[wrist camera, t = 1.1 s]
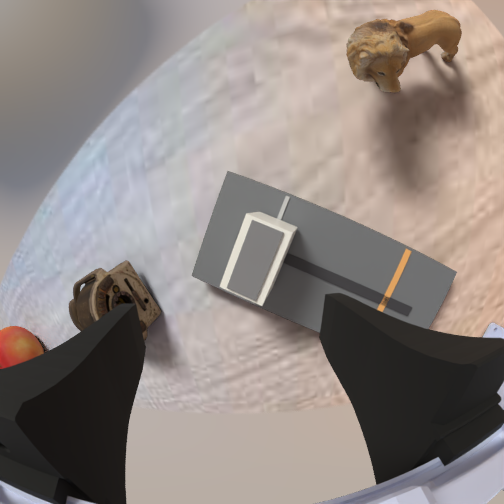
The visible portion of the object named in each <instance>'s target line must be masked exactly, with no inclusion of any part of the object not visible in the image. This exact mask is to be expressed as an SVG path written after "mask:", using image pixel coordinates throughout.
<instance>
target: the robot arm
mask: <svg viewBox="0 0 504 504" xmlns="http://www.w3.org/2000/svg"><path fill="white" fill-rule="evenodd" d="M494 329H495V330H494ZM319 338H320V340H321V343H322V346H323V349H324V352H325V354H326V357H327V359H328V361H329V363H330V364H331V366H332V368H333V370H334V372H335V374H336V375H337V377H338V379H339V381H340V383H341V384H342V386H343V388H344V390H345V392H346V393H347V395H348V397H349V399H350V401H351V403H352V405H353V408H354V410H355V413H356V416H357V418H358V421H359V423H360V426H361V429H362V432H363V435H364V438H365V441H366V444H367V447H368V451H369V455H370V458H371V462H372V466H373V470H374V475H375V479H376V485H375V486H373V487H370V488H367V489H364V490H361V491H358V492H355V493H352V494H349V495H346V496H342V497H338V498H335V499H331V500H328V501H323V502H319V503H315V504H486V503H488V501H490V500H491V499H492V498H493V497H494V496H495V495H496V494H498V493H499V492H500V491H501V490H504V328H503V327H501V326H499V325H497V324H495V323H493V322H492V323H490V324H489V326H488V328H487V330H486V332H485V333H484V335H483V337H468V336H459V335H453V334H447V333H442V332H438V331H433V330H429V329H426V328H422V327H419V326H416V325H413V324H410V323H407V322H405V321H402V320H399V319H397V318H395V317H392V316H390V315H388V314H385V313H383V312H381V311H379V310H377V309H375V308H372V307H370V306H368V305H366V304H364V303H362V302H360V301H358V300H356V299H354V298H352V297H349V296H347V295H345V294H342V293H331V294H325V300H324V308H323V315H322V322H321V329H320V336H319ZM145 349H146V346H145V342H144V338H143V334H142V329H141V325H140V320H139V315H138V310H137V305H136V304H120V305H118V306H116V307H115V308H113V309H112V310H111V311H109V312H108V313H106V314H105V315H104V316H102V317H101V318H100V319H98V320H97V321H96V322H94V323H93V324H91V325H90V326H89V327H87V328H86V329H84V330H83V331H81V332H80V333H78V334H77V335H75V336H74V337H72V338H71V339H69V340H68V341H66V342H64V343H63V344H61V345H59V346H57V347H56V348H54V349H52V350H50V351H48V352H46V353H44V354H41V355H39V356H37V357H34V358H32V359H30V360H27V361H25V362H22V363H19V364H16V365H13V366H10V367H7V368H3V369H0V504H126V490H125V460H126V459H125V458H126V443H127V433H128V424H129V419H130V414H131V410H132V406H133V402H134V399H135V395H136V391H137V388H138V384H139V380H140V377H141V373H142V370H143V364H144V357H145Z"/></svg>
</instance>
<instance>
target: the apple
mask: <svg viewBox="0 0 504 504" xmlns="http://www.w3.org/2000/svg"><path fill="white" fill-rule="evenodd" d="M41 354H44V351H43V347H42V345H41V344H40V342H39V341H38V339H37V338H36V337H35V336H34V335H33V334H32V333H31V332H30V331H28V330H27V329H25V328H22V327H18V326H10V327H6V328H4V329H2V330H0V369H3V368H7V367H10V366H13V365H16V364H19V363H22V362H25V361H27V360H30V359H32V358H34V357H37V356H39V355H41Z"/></svg>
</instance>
